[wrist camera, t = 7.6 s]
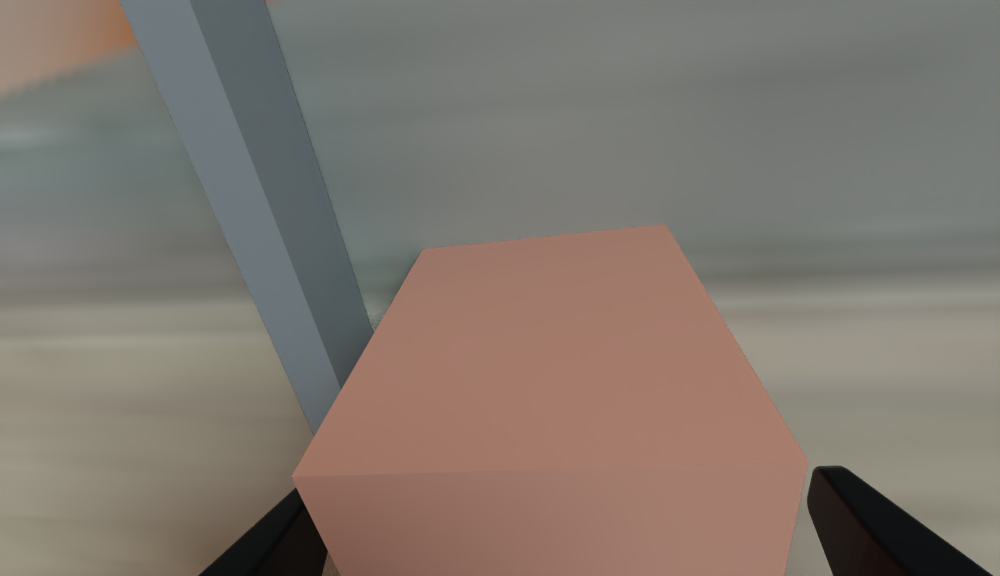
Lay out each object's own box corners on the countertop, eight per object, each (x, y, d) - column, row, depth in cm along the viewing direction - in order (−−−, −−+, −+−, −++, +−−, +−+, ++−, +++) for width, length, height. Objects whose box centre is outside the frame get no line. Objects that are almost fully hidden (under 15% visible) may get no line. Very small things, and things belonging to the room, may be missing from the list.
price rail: (95, -518, 6) (-110, -765, 4) (499, 720, 20) (494, 784, 19) (16, -486, 6) (-213, -710, 4) (473, 718, 20) (466, 782, 19)
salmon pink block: (664, 222, 9) (808, 461, 4) (661, 481, 13) (738, 791, 8) (417, 248, 10) (278, 476, 5) (476, 486, 14) (430, 771, 8)
